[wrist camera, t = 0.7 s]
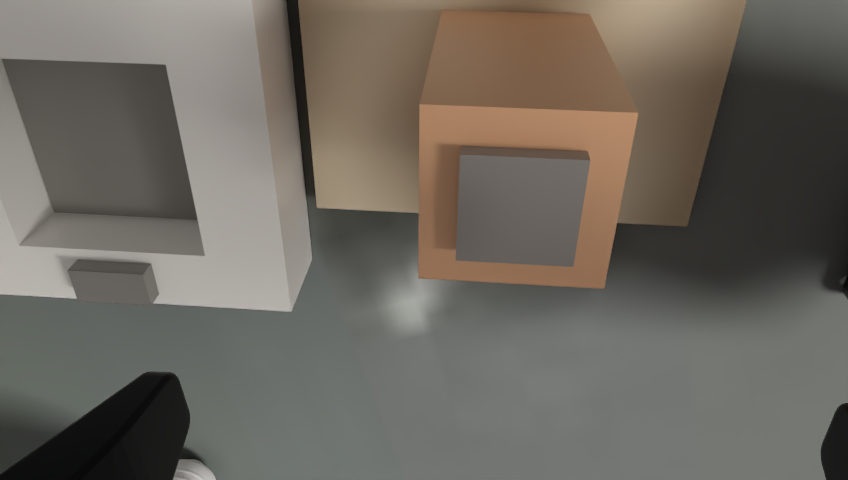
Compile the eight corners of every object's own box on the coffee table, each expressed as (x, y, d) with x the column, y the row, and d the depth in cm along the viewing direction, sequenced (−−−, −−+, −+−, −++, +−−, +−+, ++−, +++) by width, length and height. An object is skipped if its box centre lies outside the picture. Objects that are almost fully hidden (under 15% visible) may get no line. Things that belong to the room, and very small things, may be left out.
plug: (590, 14, 18) (643, 121, 12) (570, 149, 20) (607, 300, 14) (442, 9, 18) (417, 112, 12) (438, 143, 20) (416, 289, 14)
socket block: (282, -38, 18) (242, -8, 15) (312, 258, 24) (286, 323, 21) (-92, -47, 19) (-201, -22, 16) (19, 242, 25) (-47, 303, 22)
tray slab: (761, -89, 17) (769, -86, 16) (682, 217, 22) (687, 226, 21) (295, -98, 18) (289, -95, 17) (320, 198, 22) (316, 207, 22)
